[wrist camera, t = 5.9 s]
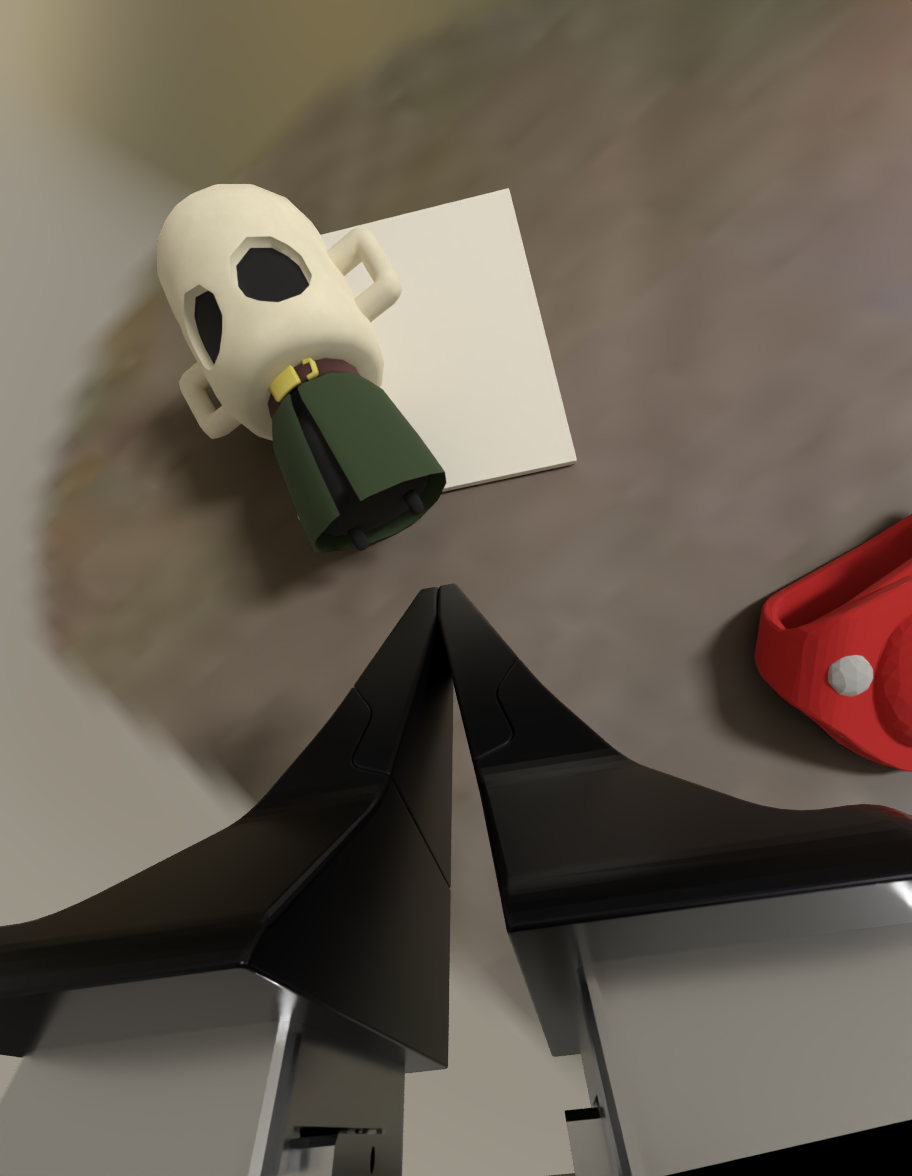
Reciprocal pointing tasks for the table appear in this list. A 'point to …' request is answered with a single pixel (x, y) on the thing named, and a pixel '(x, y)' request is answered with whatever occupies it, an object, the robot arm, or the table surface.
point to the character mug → (296, 358)
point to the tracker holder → (849, 647)
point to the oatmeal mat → (468, 341)
